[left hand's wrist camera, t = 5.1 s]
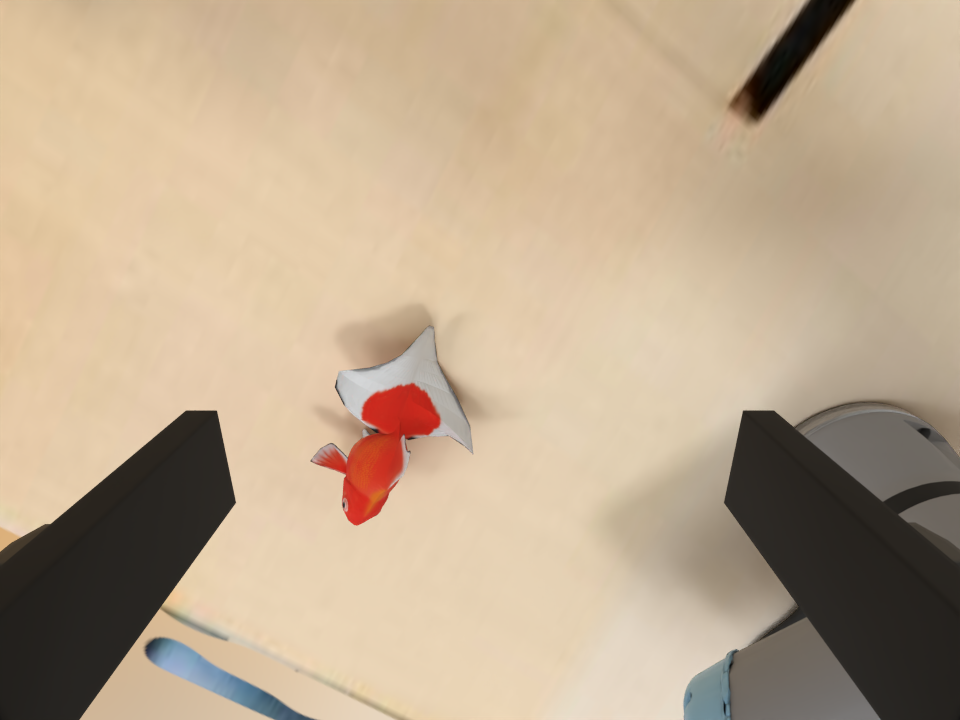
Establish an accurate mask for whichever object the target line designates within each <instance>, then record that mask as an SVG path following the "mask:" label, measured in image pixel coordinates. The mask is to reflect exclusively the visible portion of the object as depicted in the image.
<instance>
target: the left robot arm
mask: <svg viewBox="0 0 960 720" xmlns="http://www.w3.org/2000/svg"><path fill="white" fill-rule="evenodd" d="M235 503H236V501H235V496H234V491H233V486H232V481H231V477H230V472H229V467H228V462H227V457H226V452H225V448H224V443H223V438H222V433H221V428H220V423H219V418H218V414H217V411H185V412H184V413H183V414H182V415H180V416H179V417H178V418H177V419H176V420H174V421H173V422H172V423H171V424H170V425H168V426H167V427H166V428H165V429H164V430H162V431H161V432H160V433H159V434H158V435H156V436H155V437H154V438H153V439H152V440H151V441H149V442H148V443H147V444H146V445H145V446H143V447H142V448H141V449H140V450H139V451H137V452H136V453H135V454H134V455H133V456H131V457H130V458H129V459H128V460H127V461H125V462H124V463H123V464H122V465H121V466H119V467H118V468H117V469H116V470H115V471H113V472H112V473H111V474H110V475H109V476H108V477H106V478H105V479H104V480H103V481H102V482H100V483H99V484H98V485H97V486H96V487H94V488H93V489H92V490H91V491H90V492H88V493H87V494H86V495H85V496H84V497H82V498H81V499H80V500H79V501H78V502H76V503H75V504H74V505H73V506H72V507H70V508H69V509H68V510H67V511H66V512H65V513H63V514H62V515H61V516H60V517H59V518H57V519H56V520H55V521H54V522H53V523H51V524H45V525H43V526H41V527H39V528H37V529H36V530H34V531H32V532H30V533H28V534H27V535H25V536H23V537H21V538H19V539H17V540H16V541H14V542H12V543H11V544H9V545H8V546H7V547H6V548H4V549H3V550H2V551H1V552H0V720H79V719H80V718H81V717H82V715H83V714H84V712H85V711H86V710H87V708H88V707H89V705H90V704H91V703H92V701H93V700H94V699H95V697H96V696H97V694H98V693H99V692H100V690H101V689H102V687H103V686H104V685H105V683H106V682H107V681H108V679H109V678H110V676H111V675H112V674H113V672H114V671H115V669H116V668H117V667H118V665H119V664H120V663H121V661H122V660H123V658H124V657H125V656H126V654H127V653H128V651H129V650H130V649H131V647H132V646H133V645H134V643H135V642H136V640H137V639H138V638H139V636H140V635H141V633H142V632H143V631H144V629H145V628H146V626H147V625H148V624H149V622H150V621H151V620H152V618H153V617H154V615H155V614H156V613H157V611H158V610H159V609H160V607H161V606H162V604H163V603H164V602H165V600H166V599H167V597H168V596H169V595H170V593H171V592H172V591H173V589H174V588H175V586H176V585H177V584H178V582H179V581H180V579H181V578H182V577H183V575H184V574H185V573H186V571H187V570H188V568H189V567H190V566H191V564H192V563H193V561H194V560H195V559H196V557H197V556H198V555H199V553H200V552H201V550H202V549H203V548H204V546H205V545H206V543H207V542H208V541H209V539H210V538H211V537H212V535H213V534H214V532H215V531H216V530H217V528H218V527H219V525H220V524H221V523H222V521H223V520H224V518H225V517H226V516H227V514H228V513H229V512H230V510H231V509H232V507H233V506H234V505H235ZM724 503H725V505H726V506H727V507H728V509H729V510H730V512H731V513H732V514H733V516H734V517H735V518H736V520H737V521H738V523H739V524H740V525H741V527H742V528H743V530H744V531H745V532H746V534H747V535H748V537H749V538H750V539H751V541H752V542H753V543H754V545H755V546H756V548H757V549H758V550H759V552H760V553H761V555H762V556H763V557H764V559H765V560H766V561H767V563H768V564H769V566H770V567H771V568H772V570H773V571H774V573H775V574H776V575H777V577H778V578H779V579H780V581H781V582H782V584H783V585H784V586H785V588H786V589H787V591H788V592H789V593H790V595H791V596H792V597H793V599H794V600H795V602H796V603H797V604H798V606H799V607H798V609H797V610H796V611H795V612H794V613H793V614H792V615H791V616H790V617H789V618H788V619H786V620H785V621H784V622H783V623H781V624H780V625H779V626H777V627H776V628H775V629H773V630H772V631H771V632H769V633H768V634H767V635H765V636H764V637H763V638H762V639H761V640H760V641H758V642H756V643H754V644H752V645H750V646H748V647H746V648H744V649H742V650H740V651H739V650H737V649H735V650H732V651H730V652H729V653H728V654H727V655H726V658H725V659H723V660H721V661H719V662H718V663H716V664H714V665H713V666H711V667H709V668H708V669H706V670H704V671H702V672H701V673H699V674H697V675H696V676H695V677H694V678H693V679H692V680H691V681H690V683H689V684H688V686H687V688H686V691H685V696H684V720H960V457H959V456H958V455H957V453H956V452H955V451H954V450H953V448H952V447H951V446H950V445H949V443H948V442H947V441H946V440H945V439H944V437H943V436H942V435H941V434H940V433H939V432H938V431H937V430H936V429H935V428H934V427H932V426H931V425H930V424H928V423H927V422H925V421H923V420H921V419H920V418H918V417H916V416H915V415H913V414H911V413H909V412H908V411H906V410H903V409H901V408H899V407H896V406H892V405H888V404H883V403H855V404H849V405H844V406H840V407H836V408H833V409H830V410H827V411H825V412H822V413H820V414H818V415H816V416H814V417H812V418H810V419H808V420H807V421H805V422H803V423H802V424H800V425H799V426H797V427H796V428H794V427H793V426H792V425H790V424H789V423H788V422H787V421H786V420H784V419H783V418H782V417H781V416H780V415H778V414H777V413H776V412H775V411H743V414H742V418H741V423H740V428H739V433H738V438H737V443H736V448H735V452H734V457H733V462H732V467H731V472H730V477H729V481H728V486H727V491H726V496H725V501H724Z"/></svg>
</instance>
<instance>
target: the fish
mask: <svg viewBox="0 0 960 720" xmlns="http://www.w3.org/2000/svg"><path fill="white" fill-rule="evenodd" d="M335 388H336V390H337V392H338V394H339V396H340V398H341V400H342V402H343V404H344V405H345V407H346V408H347V409H348V410H349V411H350V412H351V413H352V414H353V415H354V416H355V417H356V418H358V419H359V420H360V421H361V422H363V423H364V424H365V425H367V426H368V427H369V428H371V429H372V430H373V431H375V432H376V433H378V434H372V435H370V434H369V433H368V432H367V431H366V430H365V429H363V431H362V433H363V438H362V439H361V440H359V441H358V442H357V443H356V444H355V445H354V446H353V448H352V449H351V451H350V454H349V456H348V458H347V457H346V455H345V454H344V453H343V452H342V451H341V450H340V449H339V448H338V447H337V446H336V445H334V444H333V443H330V444H328V445H326V446H324V447H322V448H321V449H320V450H319V451H318V452H317V453H316V454H315V456H314V457H313V458H312V460H311V462H313V463H315V464H317V465H320V466H323V467H326V468H329V469H333V470H336V471H338V472H341V473H343V474H346V477H345V478H344V484H343V498H342V506H343V510H344V512H345V514H346V516H347V518H348V520H349V521H350V522H351V523H352V524H354V525H356V526H357V525H359V524H362V523H364V522H365V521H367V520H369V519H370V518H372V517H374V516H376V515H377V514H379V512H380V511H381V509H382V506H383V505H384V504H385V502H386V500H387V498H388V495H389V492H390V491H391V490H392V489H393V488H394V487H395V485H396V484H397V483H398V481H399V479H400V478H401V477H402V476H403V475H404V473H405V471H406V468H407V466H408V461H409V457H410V451H407V446H406V442H405V439H408V440H411V439H416V438H421V437H426V436H450V437H451V438H453V439H454V440H456V441H458V442H459V443H461V444H462V445H464V446H465V447H466V448H467V449H468V450H469V451H470V452H471V453H472V454H473V447H472V439H471V430H470V425H469V422H468V420H467V418H466V416H465V414H464V412H463V410H462V407H461V405H460V403H459V401H458V399H457V397H456V395H455V393H454V392H453V390H452V388H451V386H450V385H449V383H448V381H447V379H446V378H445V376H444V374H443V372H442V370H441V368H440V366H439V364H438V362H437V354H436V346H435V339H434V327H432V326H428V327H427V328H426V329H425V330H424V331H423V332H422V334H421V335H420V336H419V337H418V338H417V339H416V340H415V341H414V342H413V343H412V344H411V345H410V347H409V348H408V349H407V350H406V351H405V352H404V353H403V354H402V355H401V356H399V357H397V358H395V359H393V360H391V361H389V362H387V363H384V364H381V365H377V366H374V367H370V368H363V369H354V370H346V371H339V373H338V377H337V381H336V385H335Z"/></svg>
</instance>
